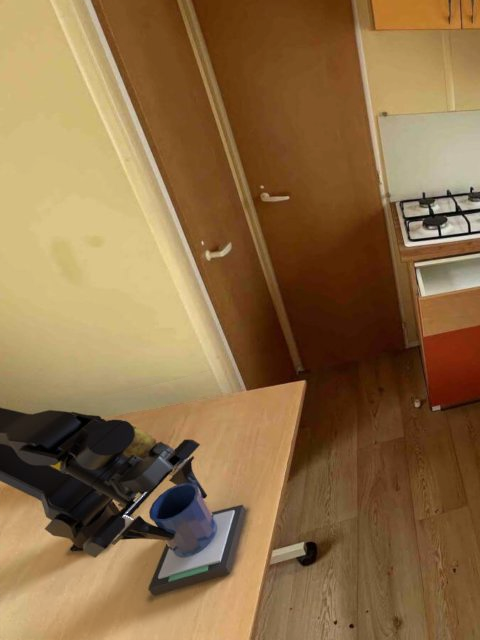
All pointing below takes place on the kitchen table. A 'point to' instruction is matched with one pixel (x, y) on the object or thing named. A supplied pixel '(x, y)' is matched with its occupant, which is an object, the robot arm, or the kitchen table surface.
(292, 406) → the kitchen table surface
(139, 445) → the potato
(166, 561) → the scale
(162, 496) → the cup
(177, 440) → the kitchen table surface
